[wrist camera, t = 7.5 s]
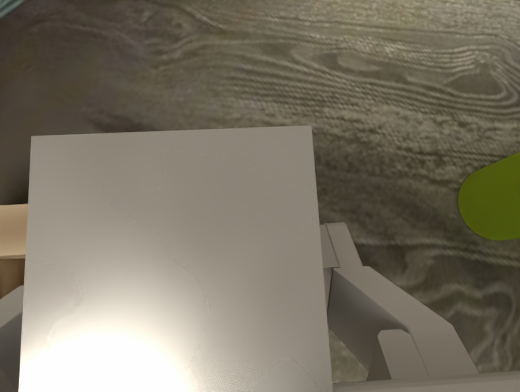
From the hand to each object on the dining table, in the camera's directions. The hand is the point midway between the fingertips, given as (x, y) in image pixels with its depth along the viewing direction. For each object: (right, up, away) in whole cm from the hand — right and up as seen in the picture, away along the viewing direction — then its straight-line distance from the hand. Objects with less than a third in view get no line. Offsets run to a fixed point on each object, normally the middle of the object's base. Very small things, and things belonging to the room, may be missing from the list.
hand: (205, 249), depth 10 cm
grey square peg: (0, -2, +7) cm, 7 cm away
